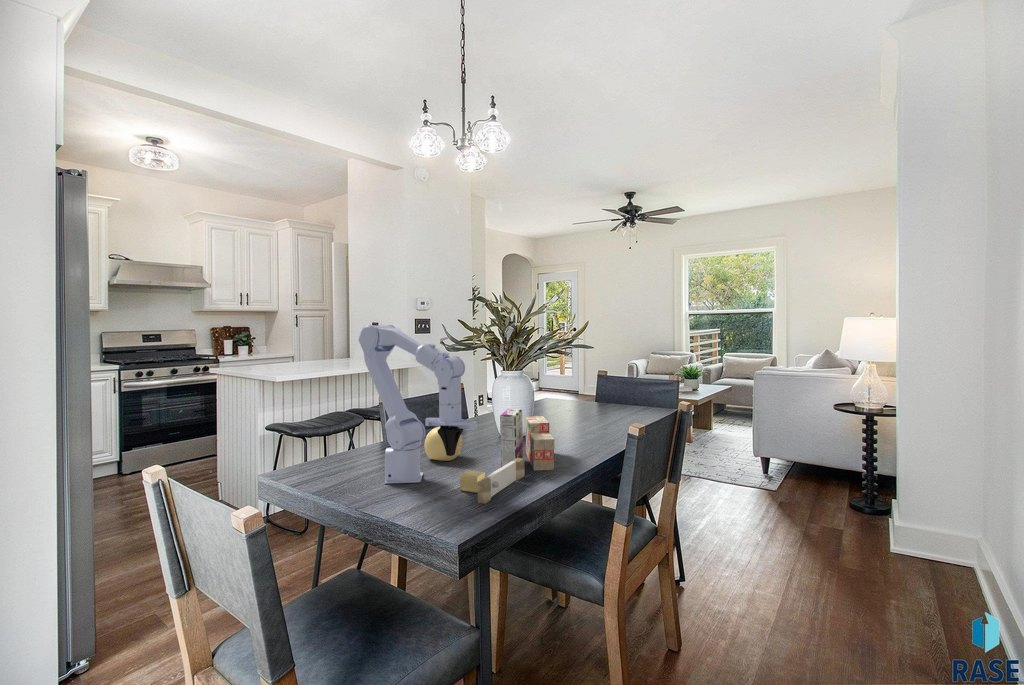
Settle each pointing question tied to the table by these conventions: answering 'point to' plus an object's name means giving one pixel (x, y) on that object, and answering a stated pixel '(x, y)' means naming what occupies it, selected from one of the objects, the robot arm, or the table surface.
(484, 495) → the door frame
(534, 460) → the stack of blocks
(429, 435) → the yellow round lump
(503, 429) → the candy bar box
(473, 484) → the tan wooden block
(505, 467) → the door
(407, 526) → the table surface
